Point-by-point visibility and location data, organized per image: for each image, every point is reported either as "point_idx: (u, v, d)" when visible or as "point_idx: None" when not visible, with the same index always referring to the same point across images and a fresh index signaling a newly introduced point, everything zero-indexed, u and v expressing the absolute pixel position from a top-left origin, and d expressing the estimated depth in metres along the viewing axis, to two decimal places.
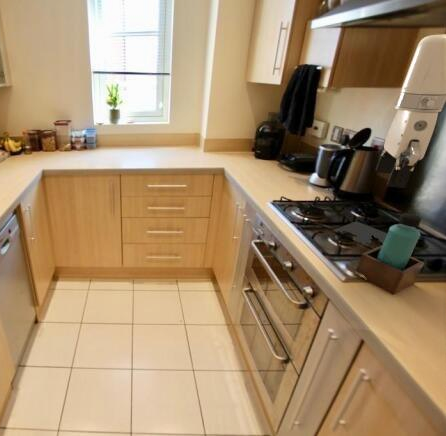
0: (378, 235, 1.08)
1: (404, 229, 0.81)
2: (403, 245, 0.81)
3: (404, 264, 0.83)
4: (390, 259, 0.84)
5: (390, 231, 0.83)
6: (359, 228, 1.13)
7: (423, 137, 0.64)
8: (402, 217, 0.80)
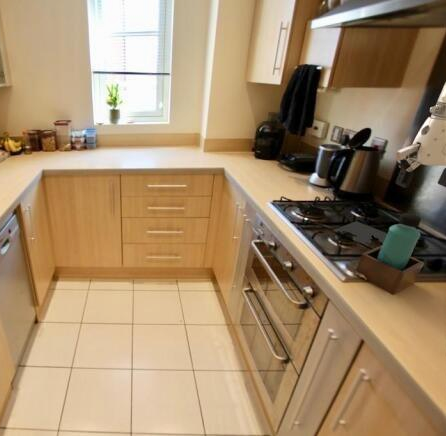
0: (378, 235, 1.08)
1: (404, 229, 0.81)
2: (403, 245, 0.81)
3: (404, 264, 0.83)
4: (390, 259, 0.84)
5: (390, 231, 0.83)
6: (359, 228, 1.13)
7: (424, 141, 0.70)
8: (402, 217, 0.80)
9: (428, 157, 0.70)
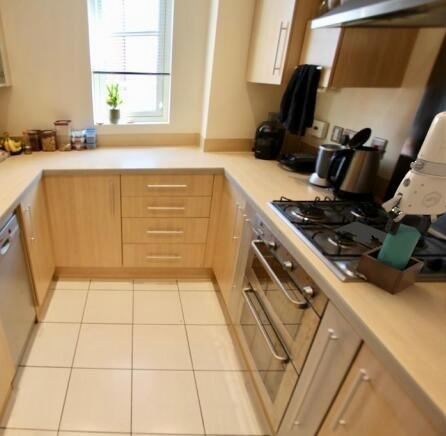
0: (378, 235, 1.08)
1: (404, 229, 0.81)
2: (403, 245, 0.81)
3: (404, 264, 0.83)
4: (390, 259, 0.83)
5: None
6: (359, 228, 1.13)
7: (405, 193, 0.76)
8: None
9: (409, 207, 0.76)
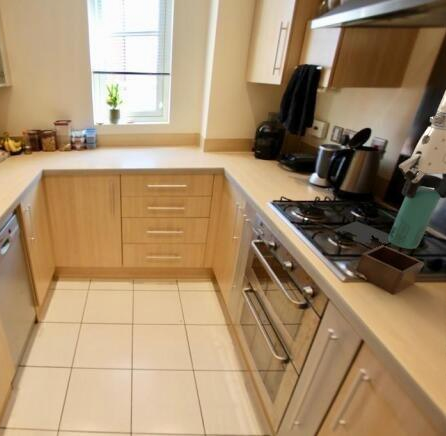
0: (378, 235, 1.08)
1: (423, 191, 0.76)
2: (422, 208, 0.76)
3: (423, 229, 0.78)
4: (408, 224, 0.79)
5: None
6: (359, 228, 1.13)
7: (424, 150, 0.71)
8: (421, 178, 0.75)
9: (429, 166, 0.71)
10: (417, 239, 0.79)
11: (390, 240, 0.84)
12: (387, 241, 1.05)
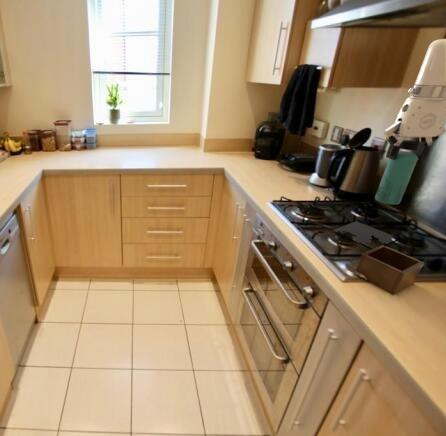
0: (378, 235, 1.08)
1: (404, 153, 0.90)
2: (403, 168, 0.90)
3: (404, 187, 0.92)
4: (391, 183, 0.93)
5: None
6: (359, 228, 1.13)
7: (404, 117, 0.85)
8: (402, 142, 0.89)
9: (408, 130, 0.85)
10: (399, 196, 0.94)
11: (376, 198, 0.98)
12: (387, 241, 1.05)
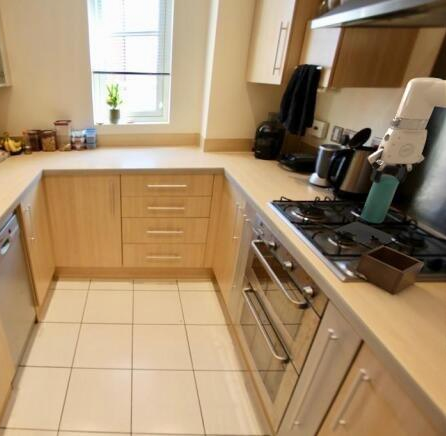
0: (378, 235, 1.08)
1: (386, 177, 0.99)
2: (385, 191, 0.99)
3: (386, 207, 1.01)
4: (375, 203, 1.02)
5: None
6: (359, 228, 1.13)
7: (386, 145, 0.94)
8: (384, 167, 0.98)
9: (389, 157, 0.94)
10: (382, 215, 1.02)
11: (362, 217, 1.07)
12: (387, 241, 1.05)
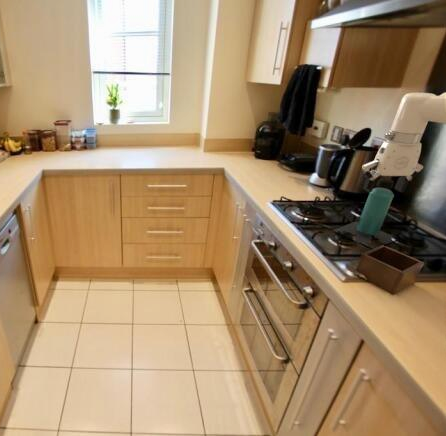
0: (378, 235, 1.08)
1: (381, 191, 1.01)
2: (380, 204, 1.01)
3: (381, 220, 1.03)
4: (370, 216, 1.04)
5: (370, 193, 1.03)
6: None
7: (381, 158, 0.96)
8: (379, 181, 1.00)
9: (384, 170, 0.96)
10: (377, 227, 1.04)
11: (358, 228, 1.09)
12: (387, 241, 1.05)
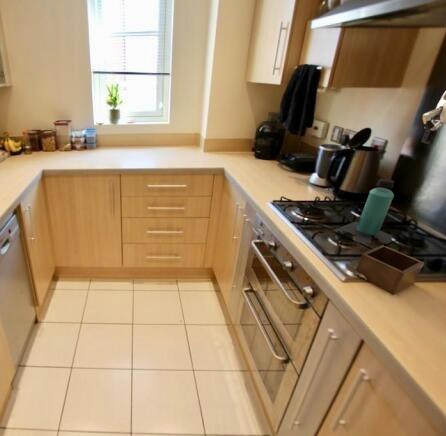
0: (378, 235, 1.08)
1: (381, 191, 1.01)
2: (380, 204, 1.01)
3: (381, 220, 1.03)
4: (370, 216, 1.04)
5: (370, 193, 1.03)
6: None
7: (445, 105, 0.88)
8: (379, 181, 1.00)
9: None
10: (377, 227, 1.04)
11: (358, 228, 1.09)
12: (387, 241, 1.05)
